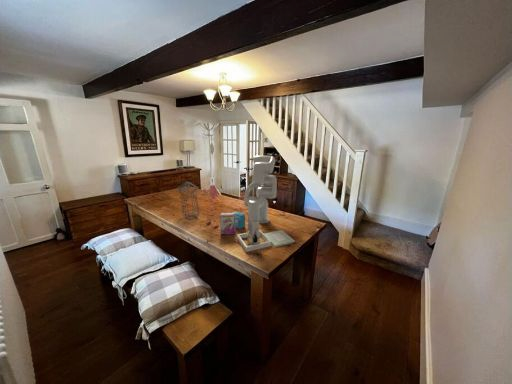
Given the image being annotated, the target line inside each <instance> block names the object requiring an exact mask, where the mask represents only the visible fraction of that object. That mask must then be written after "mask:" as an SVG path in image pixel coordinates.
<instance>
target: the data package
mask: <svg viewBox="0 0 512 384" xmlns="http://www.w3.org/2000/svg"><path fill="white" fill-rule="evenodd" d="M232 213H235V228H237V229H244V228H245V227H246V214H245V213H244V212H238V211H233V212H232Z"/></svg>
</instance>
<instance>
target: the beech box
mask: <svg viewBox="0 0 512 384" xmlns="http://www.w3.org/2000/svg"><path fill="white" fill-rule="evenodd" d="M246 233H247V238H246V241H247V244H249V245H248V246H251V245H255V244H260V243H261V236H260V232H259V233H258V235H259V236H258V238H257V242H256V243H253V238H254V237H253V235H252V234H251V233H250V232H249V231H247V232H246ZM255 235H256V234H255Z"/></svg>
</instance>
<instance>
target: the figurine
mask: <svg viewBox="0 0 512 384" xmlns="http://www.w3.org/2000/svg"><path fill="white" fill-rule="evenodd" d="M203 192H204V194H207V193H208V192H209V194H210V195H209V197H204V199H206V200H208V201H209V202H210V203H212V204H211V205H212V206H210V208H208V209H207V211H206V213H207V217H206V220H207V221H206V223H205V224H206V225H207V224H208V222H211V221H212V218H211V217H210V216H209V213H208V211H209V210H212V211H213V217H214V218H213V223H212V225H211V227H212V228H213V227H214V224H216V225H218V226H220V224H219V223H218V222H217V221H216V216H215V215H216V214H215V210H214V207H213V206H214V202H215V201H214V199H215V200H218V201H219V202H220V203H222V201H221V199H219V198H218V194H219V190H217V187H216V184H210V186H209V189H208V190H207V189H206V188H204V189H203ZM210 198H211V199H210ZM218 220H220V218H218Z"/></svg>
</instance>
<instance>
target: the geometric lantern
mask: <svg viewBox="0 0 512 384" xmlns="http://www.w3.org/2000/svg"><path fill="white" fill-rule="evenodd" d="M191 186H192V187H193V188H192V187H191ZM199 188H200V187H198V186H197V185H195V184H193V183H191V182H189V181H184V182H183V183H182V184H181V185H179V186H177V187H176V189H177V190H178V191H179V193H180V194H181V195H180V200H181V201H180V202H182V205H181V213H182V214H183V216H184V217H185V218H186V219H188V220H190V219H191V220H193V219H196V218H198V215H200V208H199V203H198V201H197V200H198V198H197V197H198V196H197V194H196V193H195V192H196V191H197V190H198V189H199ZM184 193H186V194H184ZM185 195H186V197H184V196H185ZM189 195H191V196H190V197H188V196H189ZM187 199H192V200H191V206H192V209H189V207H188V201H187ZM193 203H194V204H193ZM185 205H186V208H185ZM194 205H195V206H194ZM186 209H187V210H186ZM190 211H193V212H191V213H189V212H190ZM195 212H197V213H195ZM191 214H192V215H191ZM193 217H194V218H193ZM191 220H190V221H191Z"/></svg>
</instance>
